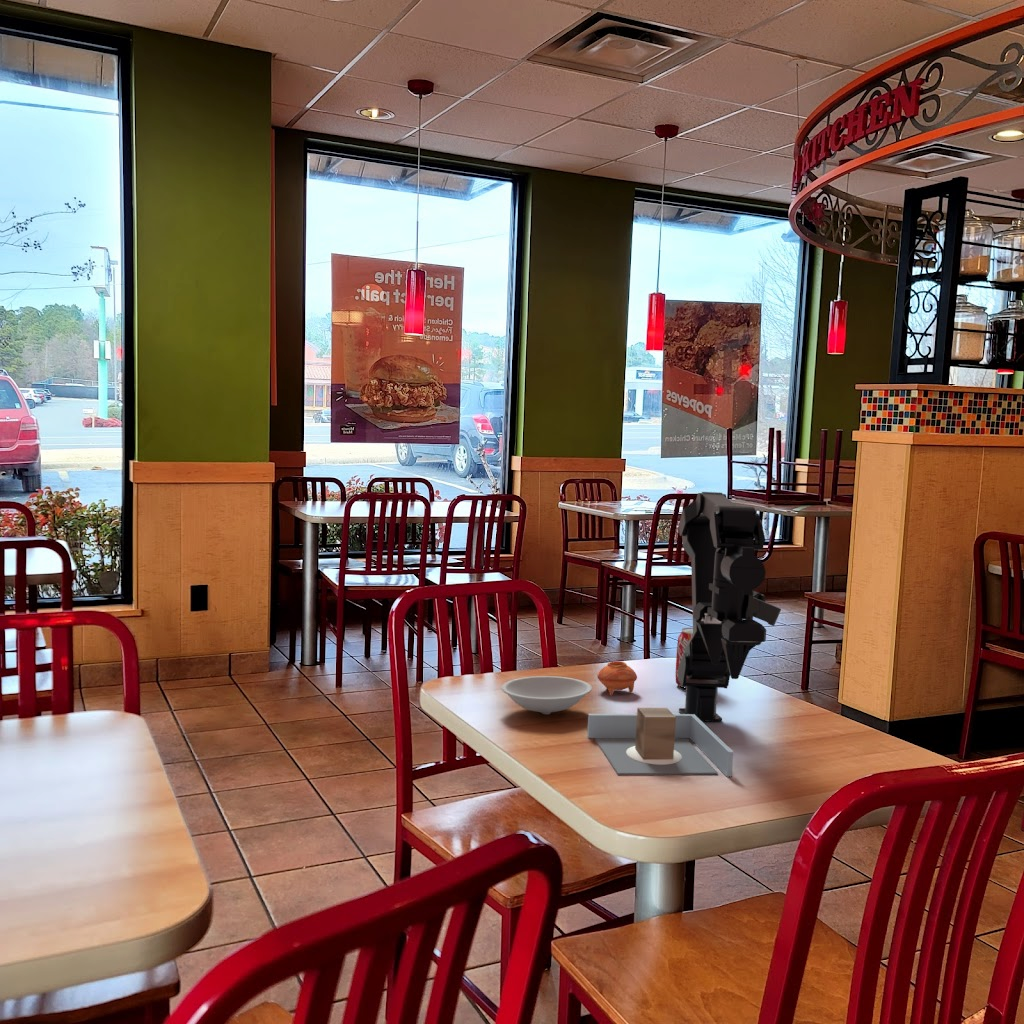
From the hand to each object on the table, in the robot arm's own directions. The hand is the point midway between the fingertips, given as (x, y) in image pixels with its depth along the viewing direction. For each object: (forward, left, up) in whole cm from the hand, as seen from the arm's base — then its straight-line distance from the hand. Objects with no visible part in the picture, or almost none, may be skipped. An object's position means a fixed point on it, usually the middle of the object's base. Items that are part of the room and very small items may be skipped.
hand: (724, 671), depth 162 cm
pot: (-32, -10, -13) cm, 36 cm away
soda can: (-36, +7, -13) cm, 39 cm away
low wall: (+5, -13, -13) cm, 19 cm away
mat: (+5, -13, -13) cm, 19 cm away
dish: (-18, -27, -13) cm, 35 cm away
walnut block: (+5, -13, -13) cm, 19 cm away
